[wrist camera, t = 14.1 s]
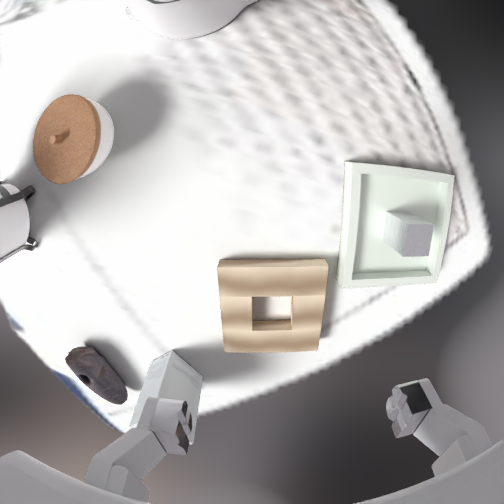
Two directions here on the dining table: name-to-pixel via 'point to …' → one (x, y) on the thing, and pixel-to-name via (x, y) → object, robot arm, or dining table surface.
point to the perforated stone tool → (97, 374)
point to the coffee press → (14, 220)
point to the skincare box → (171, 386)
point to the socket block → (264, 285)
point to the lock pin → (408, 234)
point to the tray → (373, 222)
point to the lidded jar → (72, 138)
